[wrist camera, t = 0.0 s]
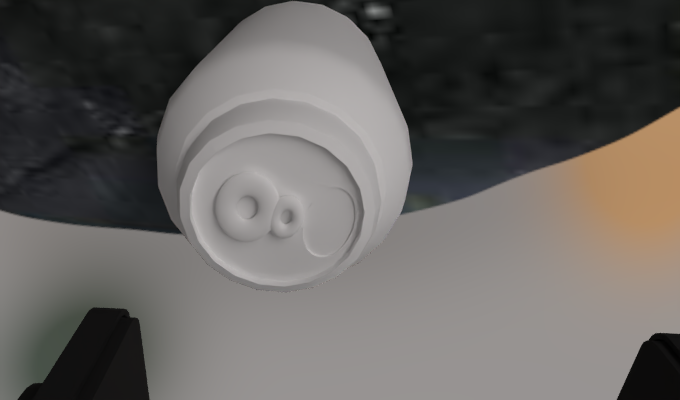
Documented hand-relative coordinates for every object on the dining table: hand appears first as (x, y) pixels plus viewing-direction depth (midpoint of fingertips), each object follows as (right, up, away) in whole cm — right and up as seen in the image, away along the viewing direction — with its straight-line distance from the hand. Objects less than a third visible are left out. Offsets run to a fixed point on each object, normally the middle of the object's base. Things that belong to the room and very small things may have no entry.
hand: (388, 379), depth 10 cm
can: (-4, +12, +29) cm, 32 cm away
